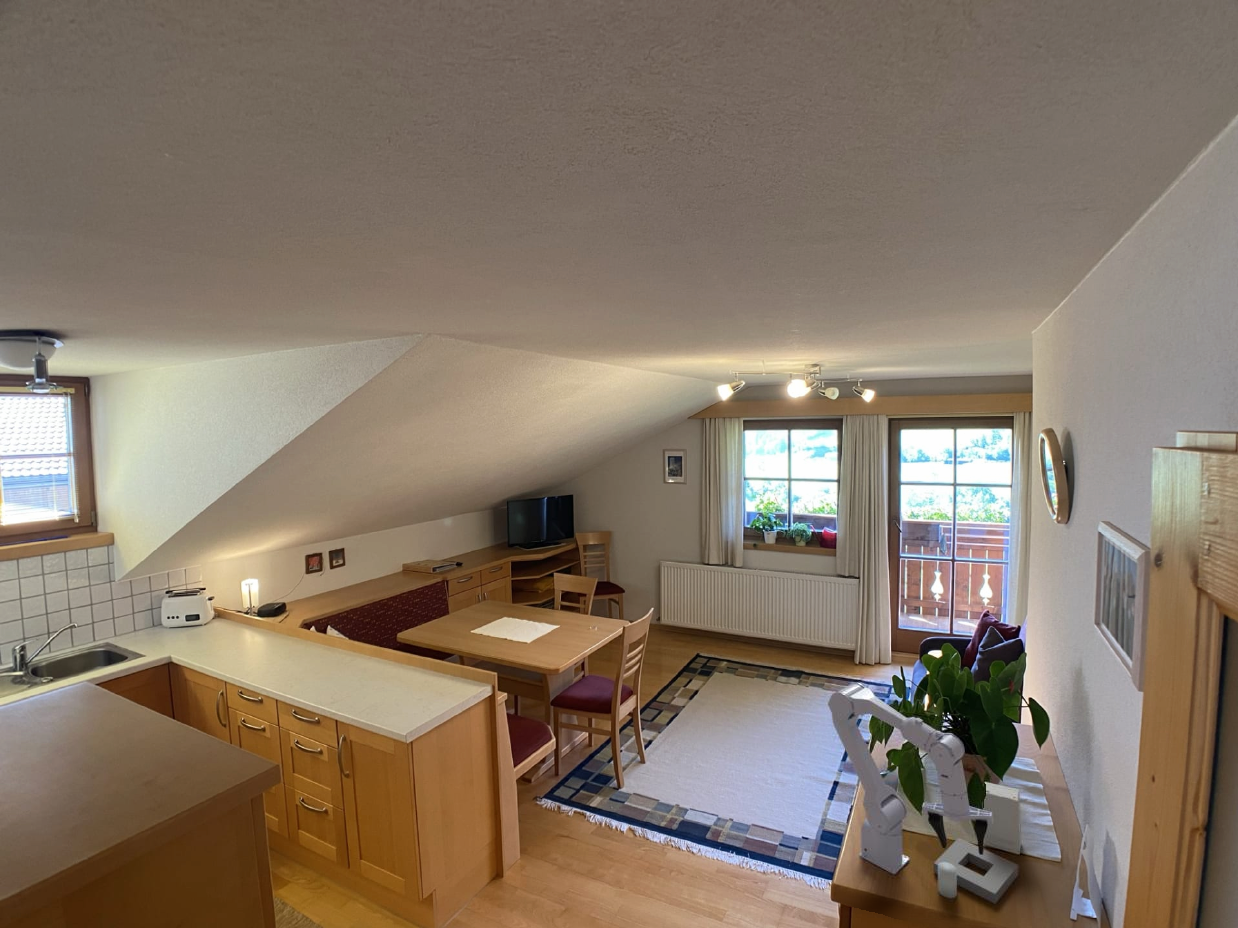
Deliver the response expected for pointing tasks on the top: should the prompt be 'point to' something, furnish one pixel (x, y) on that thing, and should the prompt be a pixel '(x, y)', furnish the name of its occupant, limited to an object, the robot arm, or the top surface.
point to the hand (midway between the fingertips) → (962, 848)
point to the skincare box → (1003, 818)
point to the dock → (997, 867)
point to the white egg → (947, 880)
